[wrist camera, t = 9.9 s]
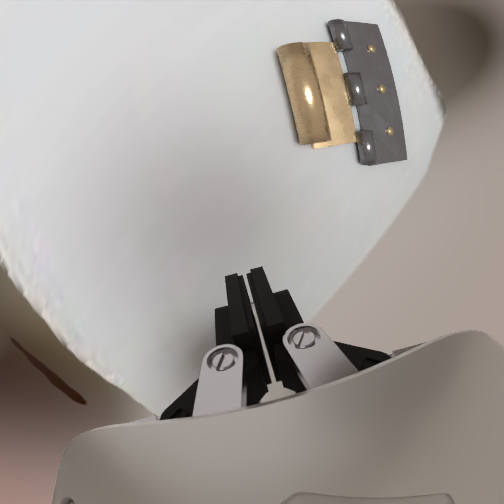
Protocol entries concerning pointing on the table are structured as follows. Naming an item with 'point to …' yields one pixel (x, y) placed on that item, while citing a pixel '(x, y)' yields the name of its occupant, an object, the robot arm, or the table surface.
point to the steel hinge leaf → (371, 91)
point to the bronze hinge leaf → (317, 93)
